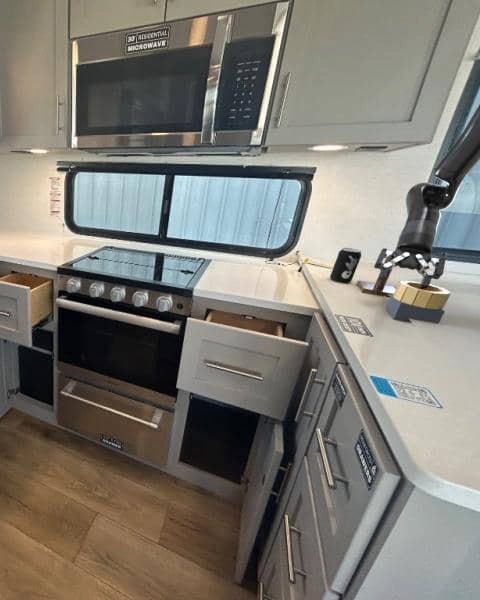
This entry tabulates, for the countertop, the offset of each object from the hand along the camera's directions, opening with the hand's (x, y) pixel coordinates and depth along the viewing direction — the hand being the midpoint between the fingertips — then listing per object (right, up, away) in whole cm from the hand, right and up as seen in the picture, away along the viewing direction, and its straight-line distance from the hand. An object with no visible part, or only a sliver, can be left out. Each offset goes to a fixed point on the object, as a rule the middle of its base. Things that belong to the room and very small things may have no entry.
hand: (402, 284), depth 94 cm
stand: (+11, -2, +20) cm, 23 cm away
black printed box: (+5, +2, +30) cm, 30 cm away
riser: (+2, -10, 0) cm, 10 cm away
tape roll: (+3, -5, -2) cm, 6 cm away
